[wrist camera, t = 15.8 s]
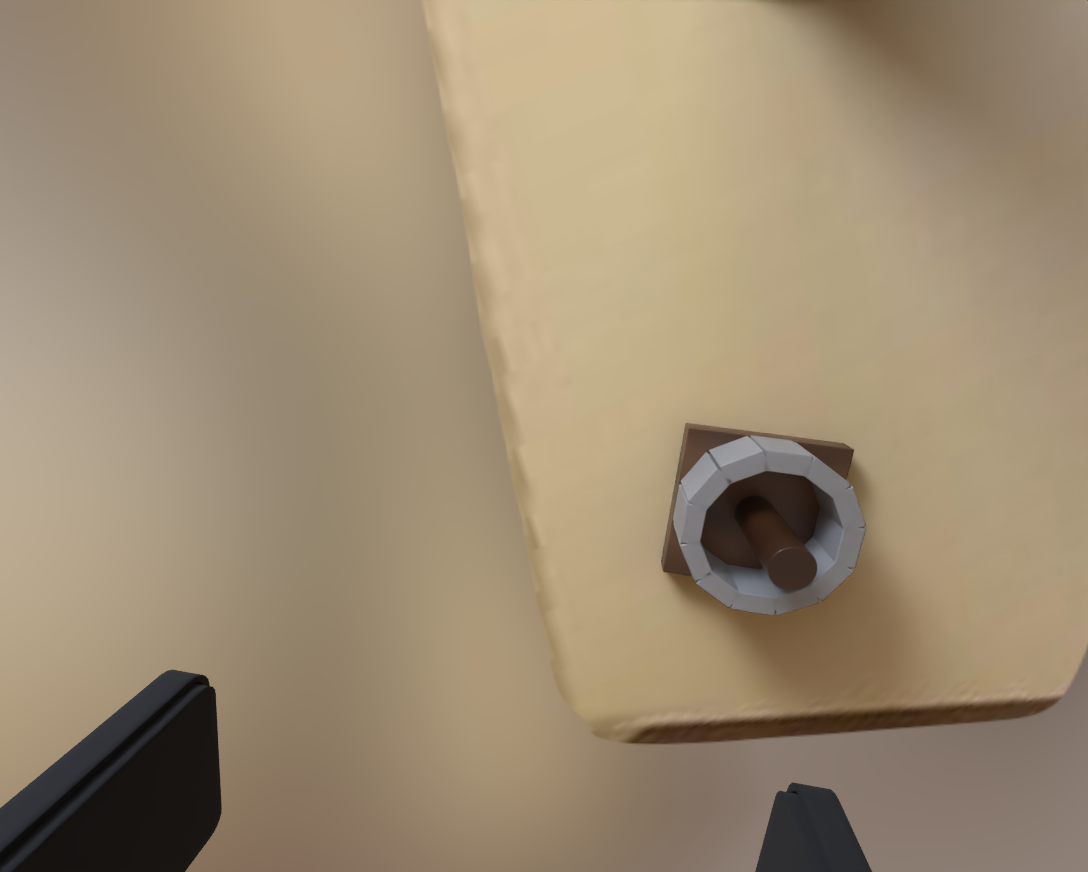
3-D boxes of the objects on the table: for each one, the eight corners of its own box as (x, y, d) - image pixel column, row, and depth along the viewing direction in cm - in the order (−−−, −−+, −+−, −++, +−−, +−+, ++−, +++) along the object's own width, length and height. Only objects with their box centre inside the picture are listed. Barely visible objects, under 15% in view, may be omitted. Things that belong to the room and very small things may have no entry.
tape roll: (689, 426, 34) (698, 441, 30) (855, 448, 33) (884, 465, 30) (663, 571, 36) (668, 599, 33) (817, 594, 35) (839, 626, 32)
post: (685, 422, 35) (710, 462, 27) (844, 443, 34) (924, 490, 26) (660, 561, 38) (676, 639, 29) (808, 584, 37) (870, 670, 28)
